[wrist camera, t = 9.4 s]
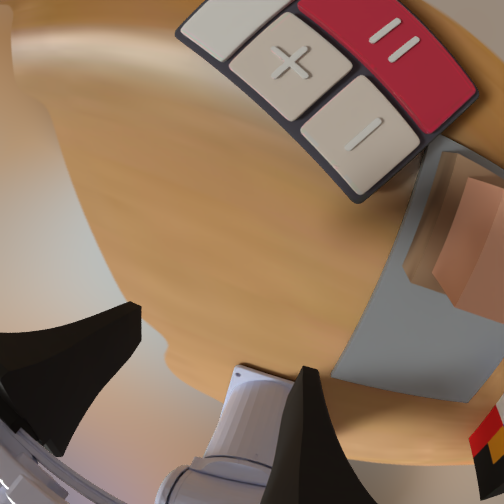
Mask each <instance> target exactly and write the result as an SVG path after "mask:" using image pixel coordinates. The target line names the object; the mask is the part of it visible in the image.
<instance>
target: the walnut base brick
mask: <svg viewBox="0 0 504 504" xmlns="http://www.w3.org/2000/svg"><path fill="white" fill-rule="evenodd" d="M468 177H470V178H473V179H476V180H479V181H483V182H486V183H489V184H491V185H494V186H497V187H500V188H503V189H504V179H502V178H501V177H499V176H497V175H496V174H494V173H492V172H491V171H489V170H487V169H486V168H484V167H482V166H480V165H479V164H477V163H475V162H473V161H471V160H470V159H468V158H466V157H464V156H462V155H460V154H458V153H451V152H442V153H441V157H440V160H439V164H438V168H437V171H436V174H435V178H434V181H433V184H432V187H431V191H430V194H429V197H428V200H427V203H426V206H425V208H424V211H423V214H422V217H421V220H420V222H419V225H418V228H417V230H416V233H415V236H414V238H413V241H412V243H411V246H410V248H409V251H408V253H407V255H406V258H405V260H404V262H403V265H402V267H403V269H404V271H405V273H406V275H407V277H408V279H409V280H410V282H411V283H413V284H416V285H419V286H422V287H425V288H428V289H430V290H433V291H436V292H439V293H442V294H445V295H446V293H445V292H444V290H443V289H442V287H441V286H440V284H439V283H438V281H437V280H436V278H435V277H434V275H433V274H432V271H433V269H434V266H435V264H436V262H437V260H438V258H439V255H440V253H441V251H442V248H443V246H444V244H445V241H446V239H447V236H448V234H449V231H450V229H451V226H452V223H453V221H454V218H455V215H456V212H457V210H458V207H459V204H460V201H461V198H462V195H463V192H464V189H465V186H466V182H467V179H468Z"/></svg>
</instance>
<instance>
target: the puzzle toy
mask: <svg viewBox="0 0 504 504" xmlns="http://www.w3.org/2000/svg"><path fill="white" fill-rule="evenodd" d="M469 442H470V446H471V450H472V455H473V459H474V464H475V469H476V474H477V480H478V486H479V492H480V500H485V499H488V498H491V497H494V496H497V495H500V494H502V493H504V393H503V395H502V396H501V398H500V399H499V401H498V402H497V403H496V405H495V406H494V407H493V409H492V410H491V412H490V413H489V414H488V415H487V417H486V418H485V419H484V421H483V422H482V423H481V424H480V426H479V427H478V428H477V429H476V430H475V432H474V433H473V434H472V435H471V436H470V438H469Z"/></svg>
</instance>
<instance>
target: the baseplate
mask: <svg viewBox="0 0 504 504" xmlns="http://www.w3.org/2000/svg"><path fill="white" fill-rule="evenodd" d="M442 152H451V153H458V154H460V155H462V156H464V157H466V158H468V159H470V160H471V161H473V162H475V163H477V164H479V165H480V166H482V167H484V168H486V169H487V170H489V171H491V172H492V173H494V174H496V175H497V176H499V177H501V178H502V179H504V170H503V169H502V168H500V167H499V166H497V165H496V164H494V163H492V162H491V161H489V160H487V159H486V158H484V157H482V156H480V155H479V154H477V153H475V152H473V151H471V150H470V149H468V148H466V147H464V146H462V145H460V144H458V143H456V142H455V141H453V140H451V139H449V138H447V137H444V136H442V135H438V136H437V137H436V138H435V139H434V140H433V141H432V142H431V143H430V144H429V145H428V146H426V148H425V151H424V155H423V159H422V162H421V166H420V169H419V173H418V176H417V179H416V182H415V186H414V189H413V192H412V195H411V198H410V201H409V204H408V207H407V210H406V213H405V215H404V218H403V221H402V224H401V226H400V229H399V232H398V234H397V237H396V240H395V242H394V245H393V247H392V250H391V252H390V255H389V257H388V259H387V262H386V264H385V267H384V269H383V271H382V274H381V276H380V278H379V280H378V283H377V285H376V287H375V289H374V291H373V294H372V296H371V298H370V300H369V302H368V304H367V306H366V308H365V310H364V313H363V315H362V317H361V319H360V321H359V323H358V325H357V326H356V328H355V330H354V332H353V334H352V336H351V338H350V340H349V342H348V344H347V346H346V347H345V349H344V351H343V353H342V355H341V356H340V358H339V360H338V362H337V364H336V365H335V367H334V369H333V370H332V372H331V377H332V378H336V379H340V380H344V381H348V382H352V383H356V384H361V385H365V386H370V387H374V388H379V389H384V390H388V391H393V392H399V393H404V394H409V395H415V396H421V397H427V398H433V399H440V400H447V401H455V402H463V403H468V402H469V401H470V400H471V399H472V397H473V396H474V395H475V394H476V393H477V392H478V390H479V389H480V388H481V387H482V385H483V384H484V383H485V382H486V381H487V379H488V378H489V377H490V375H491V374H492V373H493V371H494V370H495V369H496V367H497V366H498V365H499V363H500V362H501V361H502V359H503V358H504V324H502V323H499V322H496V321H493V320H490V319H487V318H484V317H481V316H478V315H475V314H472V313H470V312H467V311H464V310H461V309H458V308H455V307H454V306H453V304H452V303H451V301H450V299H449V298H448V296H447V295H445V294H442V293H439V292H436V291H433V290H430V289H428V288H425V287H422V286H419V285H416V284H413V283H411V282H410V280H409V279H408V277H407V275H406V273H405V271H404V269H403V267H402V265H403V262H404V260H405V258H406V255H407V253H408V251H409V248H410V246H411V243H412V241H413V238H414V236H415V233H416V230H417V228H418V225H419V222H420V220H421V217H422V214H423V211H424V208H425V206H426V203H427V200H428V197H429V194H430V191H431V187H432V184H433V181H434V178H435V174H436V171H437V168H438V164H439V160H440V157H441V153H442Z"/></svg>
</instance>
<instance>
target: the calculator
mask: <svg viewBox="0 0 504 504" xmlns="http://www.w3.org/2000/svg"><path fill="white" fill-rule="evenodd" d="M175 37H176V38H177V39H178V40H180V41H181V42H182V43H184V44H185V45H186V46H188V47H189V48H190V49H192V50H193V51H194V52H196V53H197V54H198V55H200V56H201V57H202V58H204V59H205V60H206V61H207V62H209V63H210V64H211V65H212V66H214V67H215V68H216V69H217V70H219V71H220V72H221V73H222V74H223V75H225V76H226V77H227V78H228V79H229V80H231V81H232V82H233V83H234V84H235V85H236V86H238V87H239V88H240V89H241V90H242V91H243V92H245V93H246V94H247V95H248V96H249V97H250V98H251V99H252V100H254V101H255V102H256V103H257V104H258V105H259V106H260V107H261V108H262V109H263V110H265V111H266V112H267V113H268V114H269V115H270V116H271V117H272V118H273V119H274V120H275V121H276V122H277V123H278V124H279V125H280V126H282V127H283V128H284V129H285V130H286V131H287V132H288V133H289V134H290V135H291V136H292V137H293V138H294V139H295V140H296V141H297V142H298V143H299V144H300V145H301V146H302V147H303V148H304V149H305V150H306V151H307V153H308V154H309V155H310V156H311V157H312V158H313V159H314V160H315V161H316V162H317V163H318V164H319V165H320V166H321V167H322V168H323V169H324V171H325V172H326V173H327V174H328V175H329V176H330V177H331V178H332V179H333V180H334V182H335V183H336V184H337V185H338V186H339V187H340V188H341V189H342V191H343V192H344V193H345V194H346V195H347V196H348V197H349V199H350V200H351V201H352V202H354V203H356V204H360V203H362V202H364V201H365V200H366V199H367V198H369V197H370V196H371V195H372V194H373V193H374V192H376V191H377V190H378V189H379V188H380V187H381V186H382V185H384V184H385V183H386V182H387V181H388V180H389V179H390V178H392V177H393V176H394V175H395V174H396V173H397V172H398V171H400V170H401V169H402V168H403V167H404V166H405V165H406V164H407V163H409V162H410V161H411V160H412V159H413V158H414V157H415V156H416V155H418V154H419V153H420V152H421V151H422V150H423V149H424V148H425V147H426V146H428V145H429V144H430V143H431V142H432V141H433V140H434V139H435V138H436V137H437V136H438V135H440V134H441V133H442V132H443V131H444V130H445V129H446V128H447V127H448V126H449V125H450V124H451V123H453V122H454V121H455V120H456V119H457V118H458V117H459V116H460V115H461V114H462V113H463V112H464V111H465V110H466V109H467V108H468V107H470V106H471V105H472V104H473V103H474V102H475V101H476V100H477V99H478V97H479V91H478V89H477V87H476V86H475V84H474V83H473V81H472V80H471V79H470V77H469V76H468V75H467V73H466V72H465V71H464V69H463V68H462V67H461V65H460V64H459V63H458V62H457V60H456V59H455V58H454V57H453V55H452V54H451V53H450V52H449V51H448V49H447V48H446V47H445V46H444V45H443V44H442V43H441V41H440V40H439V39H438V38H437V37H436V36H435V35H434V34H433V33H432V32H431V31H430V30H429V29H428V27H427V26H426V25H425V24H424V23H423V22H422V21H421V20H420V19H419V18H418V17H417V16H415V15H414V14H413V13H412V12H411V11H410V10H409V9H408V8H407V7H406V6H405V5H404V4H403V3H401V2H400V1H399V0H205V1H204V2H203V3H202V4H201V5H200V6H199V7H198V8H197V9H196V10H195V11H194V12H193V13H192V14H191V15H190V16H189V17H188V18H187V19H186V20H185V21H184V22H183V23H182V24H181V25H180V26H179V27H178V28H177V30H176V31H175Z"/></svg>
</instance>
